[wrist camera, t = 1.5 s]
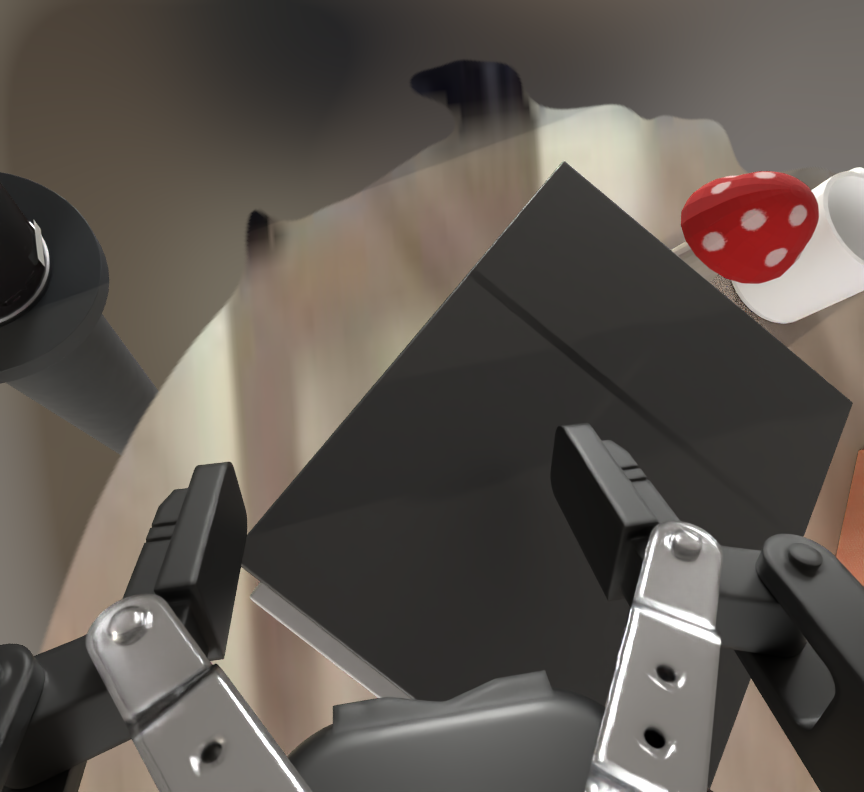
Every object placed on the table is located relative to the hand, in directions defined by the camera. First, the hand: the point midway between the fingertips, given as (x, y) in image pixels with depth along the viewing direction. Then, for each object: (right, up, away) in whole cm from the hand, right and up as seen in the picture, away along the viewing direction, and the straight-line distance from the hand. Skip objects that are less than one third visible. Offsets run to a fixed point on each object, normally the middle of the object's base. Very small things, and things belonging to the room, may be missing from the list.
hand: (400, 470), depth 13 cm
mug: (+36, +15, +42) cm, 57 cm away
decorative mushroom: (+22, +12, +37) cm, 45 cm away
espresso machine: (0, -7, +25) cm, 26 cm away
